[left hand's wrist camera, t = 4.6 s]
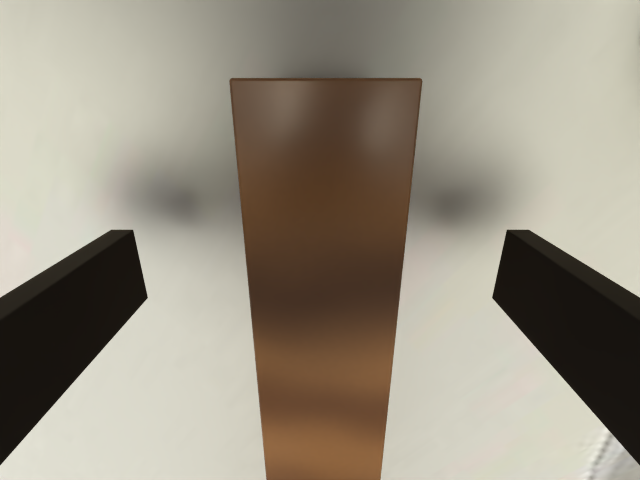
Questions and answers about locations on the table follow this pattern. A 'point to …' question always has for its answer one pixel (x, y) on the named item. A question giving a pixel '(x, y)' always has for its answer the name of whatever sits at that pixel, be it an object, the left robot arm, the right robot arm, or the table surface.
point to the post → (324, 261)
